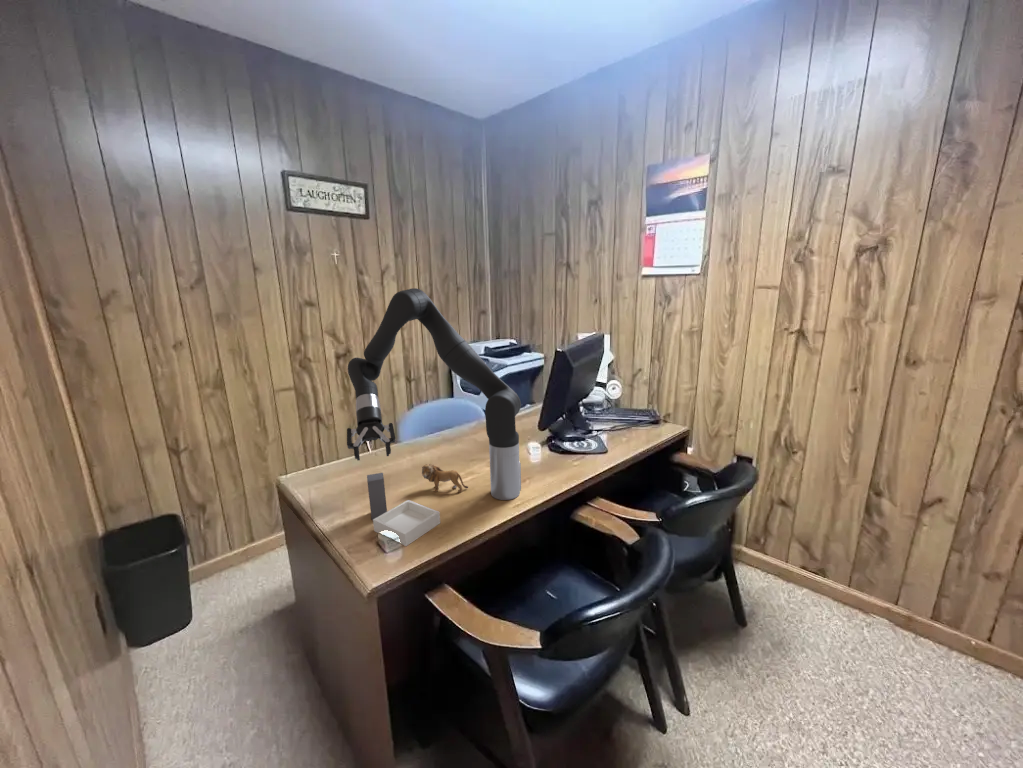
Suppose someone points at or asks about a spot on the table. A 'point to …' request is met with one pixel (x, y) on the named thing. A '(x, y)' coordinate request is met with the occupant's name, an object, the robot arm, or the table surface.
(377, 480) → the handle block
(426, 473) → the lion figurine
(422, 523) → the tray
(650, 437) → the table surface
